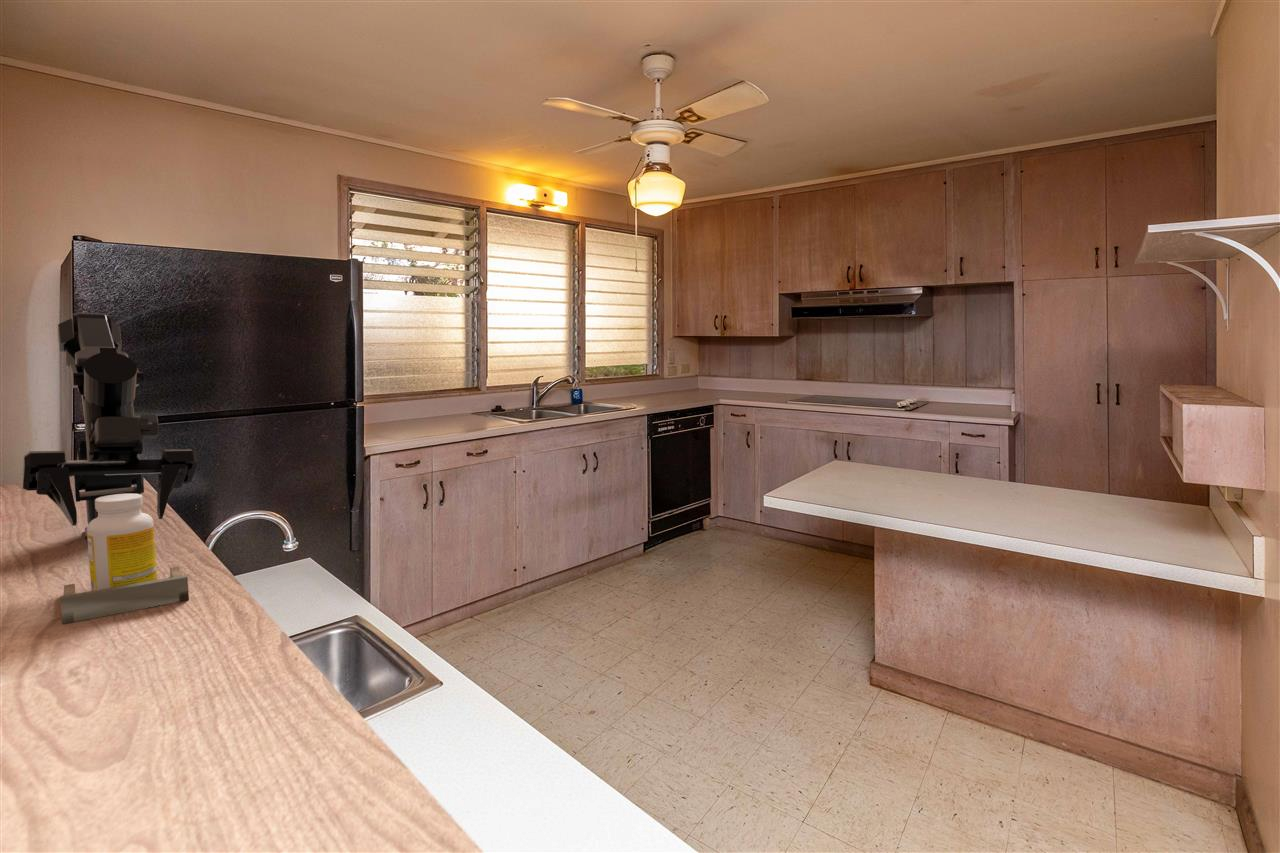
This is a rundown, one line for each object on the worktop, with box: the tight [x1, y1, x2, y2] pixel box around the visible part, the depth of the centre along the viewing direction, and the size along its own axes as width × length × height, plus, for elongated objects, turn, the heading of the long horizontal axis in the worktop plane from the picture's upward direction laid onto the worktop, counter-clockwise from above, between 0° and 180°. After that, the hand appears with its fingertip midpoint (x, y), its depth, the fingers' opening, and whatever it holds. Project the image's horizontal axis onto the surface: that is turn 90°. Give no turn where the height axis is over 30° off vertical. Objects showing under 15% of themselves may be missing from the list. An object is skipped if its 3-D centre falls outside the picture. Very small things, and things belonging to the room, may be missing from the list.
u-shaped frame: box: [59, 566, 190, 625], centre depth 83 cm, size 11×12×3 cm
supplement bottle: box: [87, 494, 159, 591], centre depth 83 cm, size 7×7×13 cm
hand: (119, 520), depth 88 cm, fingers open, 9 cm apart
